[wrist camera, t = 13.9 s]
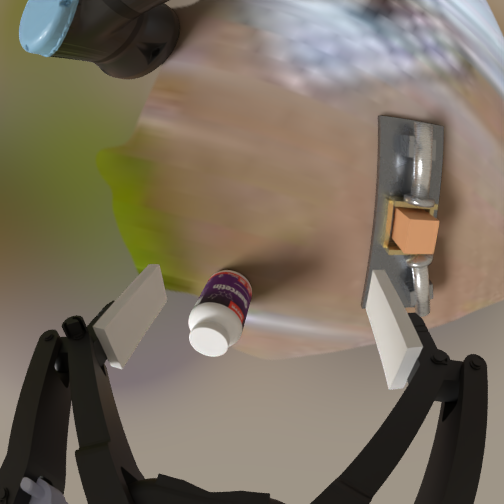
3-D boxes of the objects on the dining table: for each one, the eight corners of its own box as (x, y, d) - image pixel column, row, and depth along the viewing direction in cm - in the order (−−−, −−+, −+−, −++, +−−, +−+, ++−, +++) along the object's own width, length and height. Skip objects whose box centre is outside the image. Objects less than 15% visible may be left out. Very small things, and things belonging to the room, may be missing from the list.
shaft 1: (423, 198, 36) (439, 208, 31) (396, 195, 37) (410, 206, 32) (427, 126, 31) (445, 127, 26) (399, 121, 32) (415, 121, 27)
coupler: (391, 237, 40) (404, 253, 34) (395, 206, 37) (409, 219, 32) (418, 238, 39) (433, 254, 33) (422, 208, 37) (439, 221, 31)
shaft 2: (398, 250, 40) (410, 267, 35) (423, 242, 39) (437, 257, 34) (405, 304, 44) (415, 324, 39) (427, 296, 43) (439, 314, 38)
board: (377, 115, 33) (387, 114, 30) (440, 126, 32) (453, 126, 28) (360, 304, 47) (365, 318, 43) (413, 303, 45) (421, 316, 41)
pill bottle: (261, 283, 47) (249, 340, 35) (239, 313, 51) (222, 370, 38) (220, 259, 47) (193, 309, 34) (201, 291, 50) (173, 344, 37)
